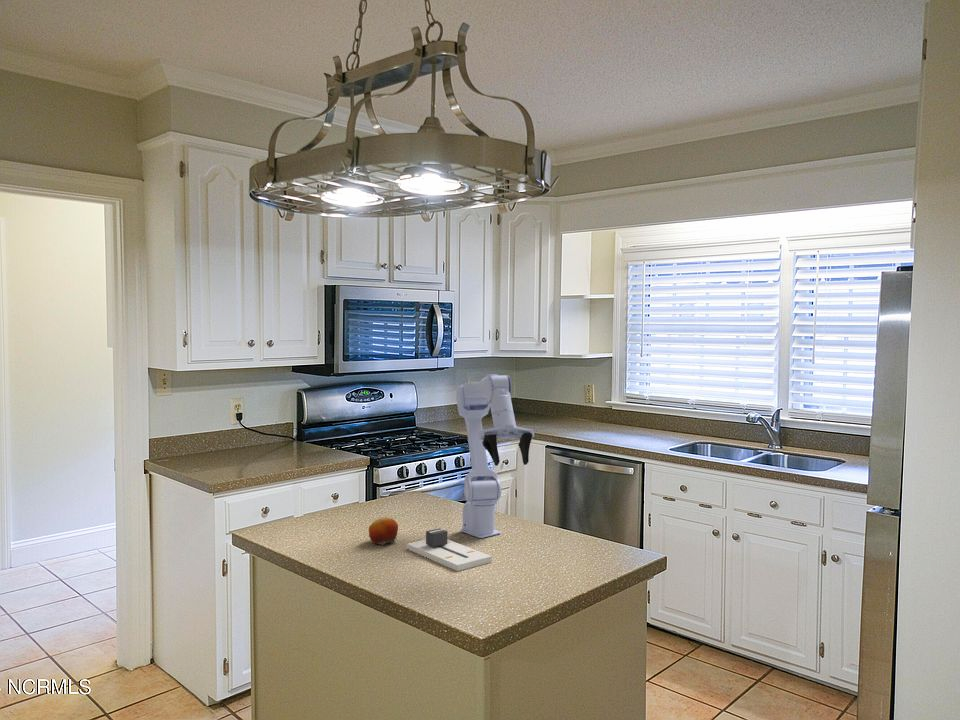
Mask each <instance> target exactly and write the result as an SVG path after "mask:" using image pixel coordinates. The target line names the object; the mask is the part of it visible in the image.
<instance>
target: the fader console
mask: <svg viewBox="0 0 960 720" xmlns="http://www.w3.org/2000/svg"><path fill="white" fill-rule="evenodd" d="M407 549H409V550H408V551H410V550H411V551H410V552H412V551H413V552H412V553H414V552H415V553H414V554H416V553H418V554H417V555H419V554H420V555H419V556H421V555H422V557H423V556H424V558H426V557H427V558H426V559H428V558H429V559H428V560H430V559H431V561H433V562H435V563H437V562H438V563H437V564H440V565H442V566H445V567H446V568H450V569H452V570H454V571H456V572H460V571H464V570H467V569H471V568H474V567H478V566H482V565H486V564H491V563H492V561H493V560H492V559H493V557H492V555H489V554H486V553H484V552H482V551H479V550H477V549H473V548H471V547H468V546H466V545H464V544H460V543H457V542H455V541H453V540H451V539H448V538H447V544H446V545H442V546H437V547H432V546H429V545H427V544H426V539H422V540H418V541H414V542H413V541H412V542H409V543H406V550H407Z"/></svg>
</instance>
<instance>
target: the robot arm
mask: <svg viewBox="0 0 960 720" xmlns="http://www.w3.org/2000/svg"><path fill="white" fill-rule="evenodd" d="M512 384H513V383H512V379H511V376H510V375H508V374H506V375H499V374H497V373H493V374H491V373H490V374H486V376H485V377H483V378H482V379H480V381H471V382H466V383H463V384H460V385H459V386H458V387H457V388H456V405H457V411H458V415H459V416H460V417H462V418H463V419H464V422H465V423H464V424H465V427H466V434H467V441H468V449H469V456H470V462H471V470H470V471H469V472H468V473H467V474H466V475H465V477H464V479H463V482H464V485H463V486H464V487H463V491H464V492H463V494H464V498H465V501H466V502H465V503H464V504H463V507H462V528H460V529H459V531H460V532H461V533H465V534H467V535H469V536H473V537H475V538H479V539H483V538H488V537H492V536H497V535H500V534H501V533H502V531H500V530H496V529H495V527H496V525H495V523H496V522H495V521H496V505H497V503H498V501H500V498H501V497H502V486H501V482H500V479H499V475H498V473H497V472H496V471H494V470H493V469H491V468H490V467H489V464H488V456H487V452H488V454H489V456H490V458H491V459H492V461H493V464H494V466H496V467H497V466H499V465H500V460H501V459H500V456H499V451H498V441H497V440H498V439H499V440H506V439H507V440H508V439H519V442H518V444H517V445H518V447H519V451H520V453H521V459H522V463H523V465H524V466H525V465H528V463H529V457H530V456H529V455H530V454H529V453H530V446H531V442H532V439H534V437H535V430H534V428H526V427H522V426H517V423H516V418H515V417H516V416H515V413H514V409H513V407H514V406H513V403H512V398H511V393H512V389H513V388H512ZM489 411H491V412H490V413H491V417H492V423H493V427H491V428H486V429H483V423H482V422H483V421H482V419H483V418H484V417H485V416H487V415H488V414H489Z"/></svg>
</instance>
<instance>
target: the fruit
mask: <svg viewBox="0 0 960 720" xmlns="http://www.w3.org/2000/svg"><path fill="white" fill-rule="evenodd" d="M398 531H399V524H398V522H397V520H395V519H394V518H391V517H380V518H378V519H376V520H374V521H372V523H371V524H370V525H369V527H368V537H369V538H370V541H371V542H372V543H374V544H376V545H381V546H383V545H385V544H388V543H394V544H396V541H395V540H396V539H397V536H398Z"/></svg>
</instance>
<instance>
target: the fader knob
mask: <svg viewBox="0 0 960 720" xmlns="http://www.w3.org/2000/svg"><path fill="white" fill-rule="evenodd" d="M447 539H448V530H445V529H444V528H440V527H438V528H434V529H430V530H426V531H425V540H426V544H427V545H429V546H432V547H437V546H442V545H446V544H447Z"/></svg>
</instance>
